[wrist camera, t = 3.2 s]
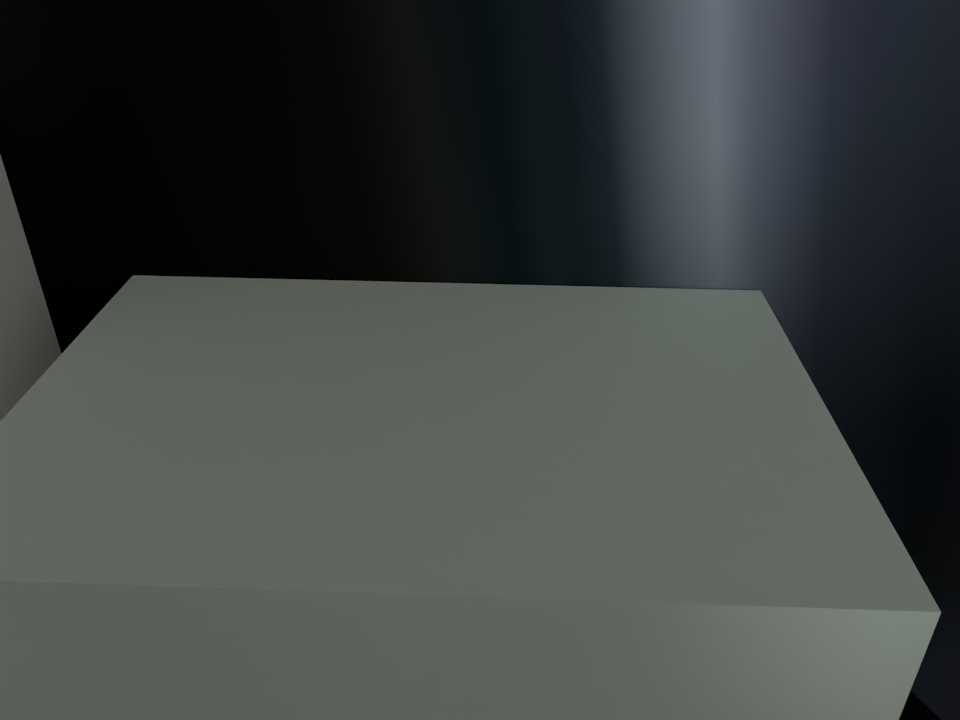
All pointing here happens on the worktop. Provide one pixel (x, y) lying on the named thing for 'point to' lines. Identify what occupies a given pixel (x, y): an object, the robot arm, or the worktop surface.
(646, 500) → the sage brick
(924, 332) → the worktop surface
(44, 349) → the baseplate
